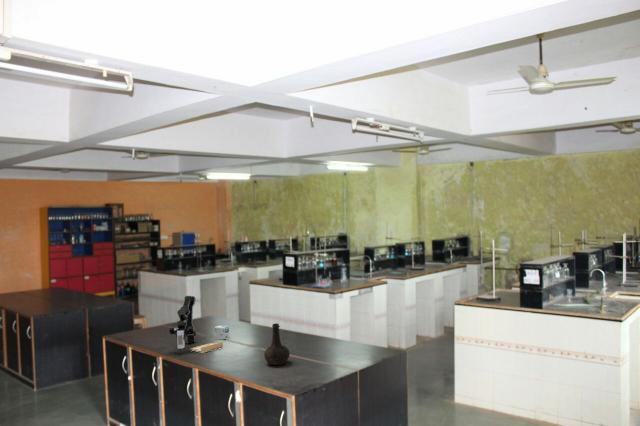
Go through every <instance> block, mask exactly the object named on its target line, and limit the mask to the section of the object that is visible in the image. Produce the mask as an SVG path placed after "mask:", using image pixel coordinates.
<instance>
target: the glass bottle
mask: <svg viewBox="0 0 640 426" xmlns="http://www.w3.org/2000/svg"><path fill="white" fill-rule="evenodd" d="M280 327H281V326H280V324H279V323H272V326H271V328H272V338H271V343H270V346H269V347H267V348H266V350H265V351H264V355H263V356H264V359H265V361H266V363H268V364H269V365H271V366H281V365H283V364H285V363H287V361H288V360H289V359H290V350H289V348H288V347H287V346H285V345H282V343H281V337H280Z"/></svg>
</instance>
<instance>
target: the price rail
mask: <svg viewBox="0 0 640 426" xmlns="http://www.w3.org/2000/svg"><path fill="white" fill-rule="evenodd" d="M220 346H223V347H224V342H223V341H220V342H217V343H213V344H212V345H208V346H205V347H201V352H202V351H206V350H209V349H213V348H217V347H220Z"/></svg>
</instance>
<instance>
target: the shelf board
mask: <svg viewBox="0 0 640 426" xmlns="http://www.w3.org/2000/svg"><path fill="white" fill-rule="evenodd" d="M212 344H214V343H212V342H210V343H206V344H203V345H198V346H195V347H194V346H193V347H190V348H189V351H190V350H192V351H196V352H199V353H204V352H207V351H211V350H215V349H219V348H222V347H223V348H224V345H223V346H220V347H217V348H213V349H209V350H206V351H202V352H201V347H205V346H208V345H212ZM223 348H222V349H223ZM219 350H220V349H219ZM192 351H191V352H192ZM215 351H216V350H215ZM196 352H195V353H196ZM211 352H212V351H211ZM199 353H198V354H199ZM204 354H205V353H204Z"/></svg>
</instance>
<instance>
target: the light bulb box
mask: <svg viewBox="0 0 640 426" xmlns="http://www.w3.org/2000/svg"><path fill="white" fill-rule="evenodd" d="M214 338H219V339H226V340H228V339H227V338H229V339H230V326H229V325H217V326H215V327H214Z"/></svg>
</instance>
